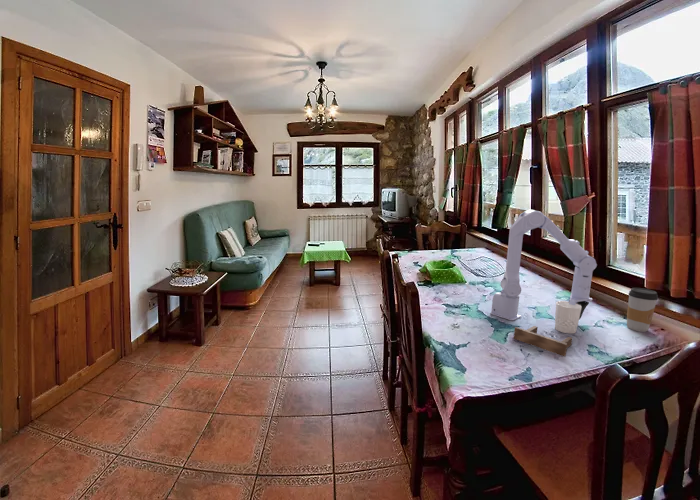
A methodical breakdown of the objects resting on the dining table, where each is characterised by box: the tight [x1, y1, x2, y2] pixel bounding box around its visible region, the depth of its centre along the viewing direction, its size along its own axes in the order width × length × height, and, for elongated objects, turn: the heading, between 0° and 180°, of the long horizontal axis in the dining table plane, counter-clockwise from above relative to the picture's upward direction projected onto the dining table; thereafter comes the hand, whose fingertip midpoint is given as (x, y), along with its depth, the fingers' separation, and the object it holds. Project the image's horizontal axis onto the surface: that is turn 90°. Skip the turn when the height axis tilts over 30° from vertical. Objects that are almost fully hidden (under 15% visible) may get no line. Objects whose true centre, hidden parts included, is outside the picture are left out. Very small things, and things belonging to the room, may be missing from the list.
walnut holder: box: [513, 325, 573, 357], centre depth 114 cm, size 16×11×4 cm
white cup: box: [554, 300, 582, 335], centre depth 124 cm, size 8×8×10 cm
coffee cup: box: [626, 287, 659, 333], centre depth 126 cm, size 8×8×15 cm
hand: (576, 318), depth 131 cm, fingers closed
